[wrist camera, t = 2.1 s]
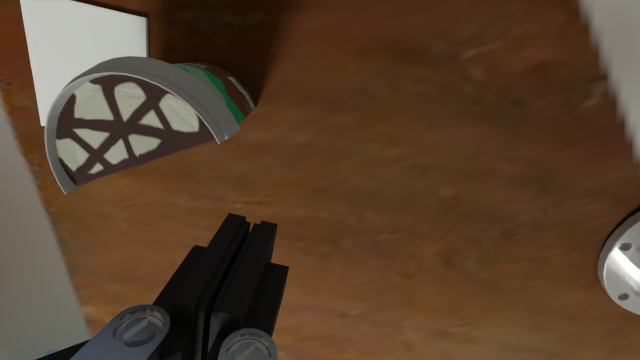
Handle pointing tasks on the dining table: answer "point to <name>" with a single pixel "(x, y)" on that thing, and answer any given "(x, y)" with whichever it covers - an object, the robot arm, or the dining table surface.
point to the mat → (75, 42)
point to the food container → (139, 115)
